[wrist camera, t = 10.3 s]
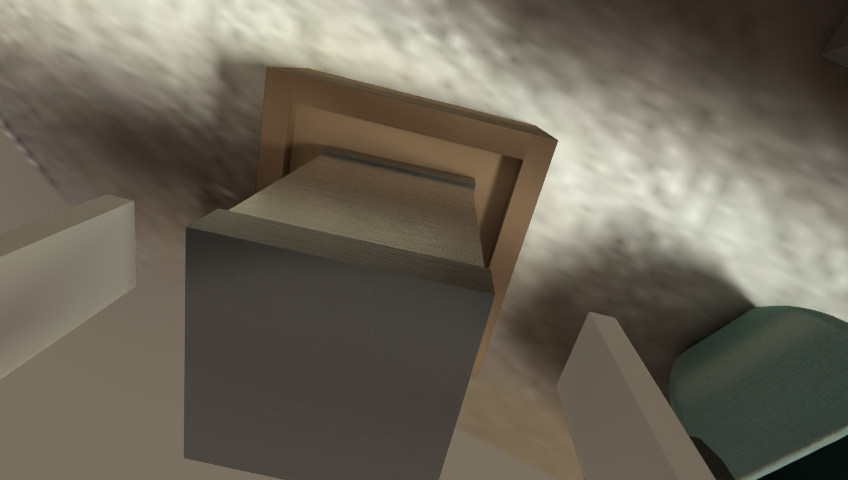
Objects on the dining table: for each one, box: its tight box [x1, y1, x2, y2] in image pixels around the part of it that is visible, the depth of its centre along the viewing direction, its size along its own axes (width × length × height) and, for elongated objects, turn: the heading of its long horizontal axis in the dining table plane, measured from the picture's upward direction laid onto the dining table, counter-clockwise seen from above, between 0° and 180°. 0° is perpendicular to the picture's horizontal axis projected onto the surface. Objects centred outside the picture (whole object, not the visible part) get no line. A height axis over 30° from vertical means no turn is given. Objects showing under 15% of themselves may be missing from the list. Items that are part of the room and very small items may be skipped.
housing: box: [184, 146, 495, 480], centre depth 14 cm, size 6×6×10 cm
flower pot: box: [669, 306, 848, 480], centre depth 20 cm, size 9×9×9 cm
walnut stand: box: [255, 67, 558, 376], centre depth 20 cm, size 11×11×5 cm
